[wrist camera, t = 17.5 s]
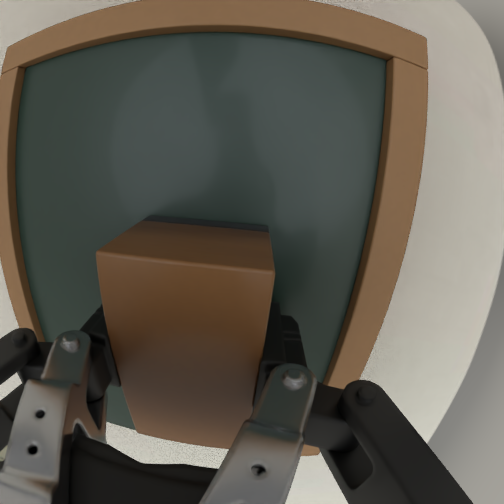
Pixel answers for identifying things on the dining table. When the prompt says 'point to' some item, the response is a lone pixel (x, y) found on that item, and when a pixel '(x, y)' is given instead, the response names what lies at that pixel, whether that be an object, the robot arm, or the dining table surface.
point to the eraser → (188, 323)
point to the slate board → (216, 156)
